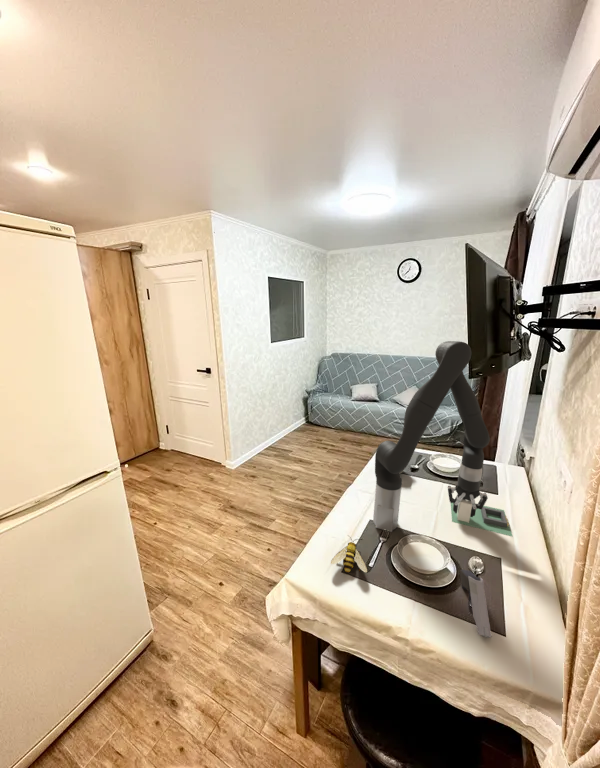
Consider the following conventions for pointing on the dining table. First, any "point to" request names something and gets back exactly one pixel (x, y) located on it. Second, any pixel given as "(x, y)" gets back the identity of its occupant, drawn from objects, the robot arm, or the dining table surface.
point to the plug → (464, 510)
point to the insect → (350, 558)
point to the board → (487, 520)
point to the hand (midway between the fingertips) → (463, 513)
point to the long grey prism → (477, 601)
